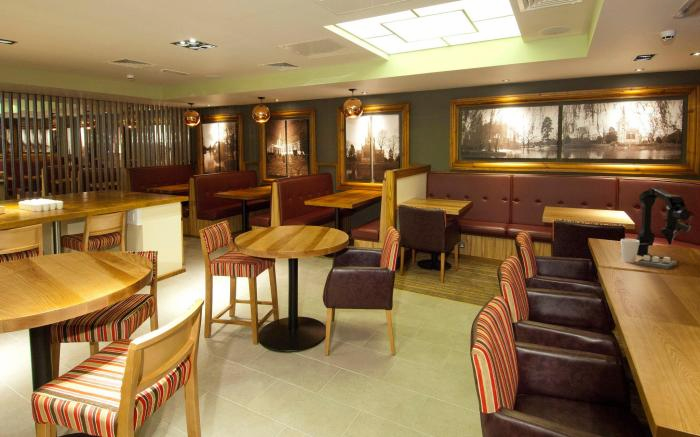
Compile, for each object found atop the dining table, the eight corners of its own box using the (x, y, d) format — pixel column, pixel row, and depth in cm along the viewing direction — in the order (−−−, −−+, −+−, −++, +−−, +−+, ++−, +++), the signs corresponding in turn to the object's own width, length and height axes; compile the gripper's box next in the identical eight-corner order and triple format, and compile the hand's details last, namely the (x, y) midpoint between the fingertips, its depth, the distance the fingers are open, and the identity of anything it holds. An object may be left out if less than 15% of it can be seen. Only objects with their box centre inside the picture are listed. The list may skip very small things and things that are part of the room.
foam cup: (632, 259, 263) (634, 238, 261) (641, 263, 254) (643, 241, 252) (616, 259, 264) (617, 238, 262) (624, 263, 255) (625, 241, 253)
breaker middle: (653, 260, 251) (653, 256, 250) (658, 261, 249) (659, 257, 249) (652, 261, 249) (652, 257, 249) (657, 262, 247) (658, 257, 247)
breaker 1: (644, 259, 254) (644, 255, 254) (649, 260, 252) (650, 255, 252) (643, 260, 253) (643, 255, 252) (648, 260, 251) (648, 256, 250)
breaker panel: (646, 259, 262) (646, 256, 262) (676, 264, 251) (676, 260, 250) (637, 264, 252) (637, 261, 252) (668, 269, 241) (668, 265, 240)
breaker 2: (664, 261, 249) (664, 256, 249) (669, 262, 247) (670, 257, 247) (663, 261, 248) (663, 257, 247) (668, 262, 246) (669, 258, 246)
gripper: (685, 220, 234) (682, 249, 237) (694, 217, 246) (691, 244, 249) (661, 218, 243) (658, 246, 245) (670, 215, 255) (668, 241, 257)
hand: (670, 244), depth 249 cm, fingers closed
